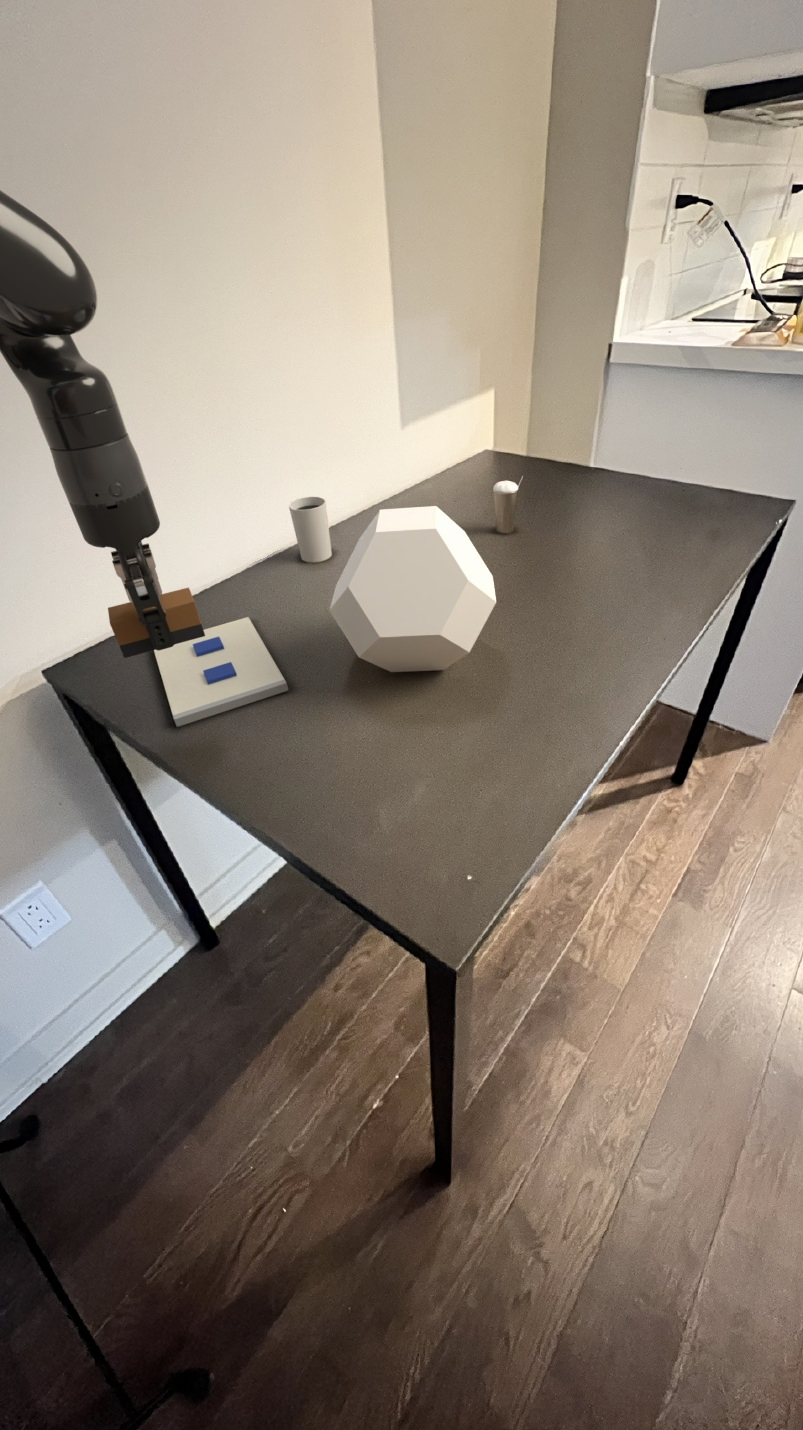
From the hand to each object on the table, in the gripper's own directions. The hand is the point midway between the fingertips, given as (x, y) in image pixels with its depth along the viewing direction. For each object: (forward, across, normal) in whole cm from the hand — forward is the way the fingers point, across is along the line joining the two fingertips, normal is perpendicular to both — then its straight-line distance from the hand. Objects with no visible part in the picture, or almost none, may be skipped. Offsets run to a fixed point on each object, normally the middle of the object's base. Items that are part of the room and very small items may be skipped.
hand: (162, 637), depth 72 cm
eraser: (0, 0, 0) cm, 0 cm away
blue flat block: (+12, -16, +5) cm, 20 cm away
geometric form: (+13, 0, +31) cm, 34 cm away
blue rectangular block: (+12, -8, +5) cm, 15 cm away
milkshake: (+13, -30, +65) cm, 73 cm away
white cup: (+13, -40, +29) cm, 52 cm away
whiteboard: (+13, -12, +5) cm, 18 cm away
